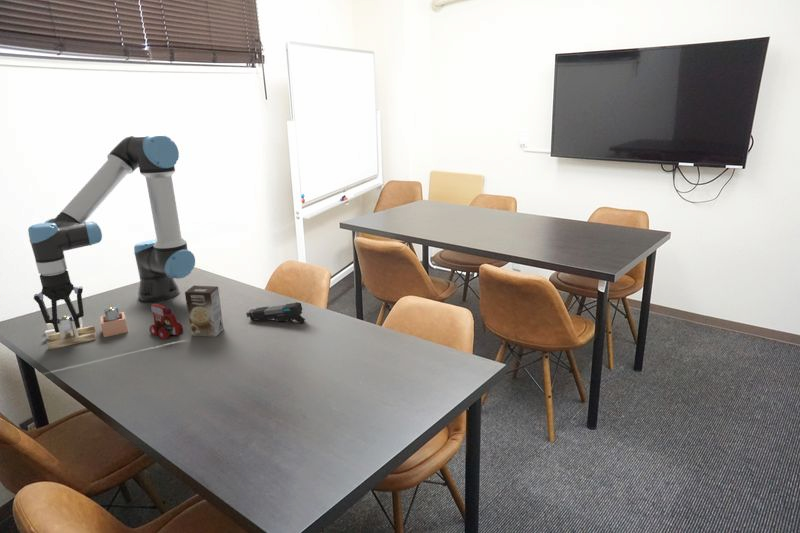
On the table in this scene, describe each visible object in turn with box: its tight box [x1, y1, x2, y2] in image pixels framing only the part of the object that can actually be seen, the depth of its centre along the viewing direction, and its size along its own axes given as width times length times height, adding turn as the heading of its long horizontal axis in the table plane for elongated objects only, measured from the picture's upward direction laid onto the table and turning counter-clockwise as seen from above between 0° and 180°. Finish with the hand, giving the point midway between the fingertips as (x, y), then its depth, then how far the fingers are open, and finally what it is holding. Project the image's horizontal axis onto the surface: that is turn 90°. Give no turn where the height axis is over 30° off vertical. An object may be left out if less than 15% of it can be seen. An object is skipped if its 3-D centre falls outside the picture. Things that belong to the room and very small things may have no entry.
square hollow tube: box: [99, 311, 129, 338], centre depth 167 cm, size 7×7×6 cm
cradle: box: [44, 317, 83, 340], centre depth 168 cm, size 10×9×3 cm
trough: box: [46, 325, 97, 350], centre depth 162 cm, size 13×8×3 cm, turn 121°
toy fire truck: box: [149, 303, 184, 340], centre depth 164 cm, size 7×12×10 cm, turn 57°
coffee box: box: [184, 285, 224, 338], centre depth 164 cm, size 9×6×16 cm
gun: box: [245, 301, 306, 325], centre depth 174 cm, size 4×20×10 cm, turn 80°
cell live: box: [57, 315, 75, 339], centre depth 160 cm, size 4×4×9 cm
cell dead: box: [103, 306, 120, 322], centre depth 166 cm, size 4×4×9 cm
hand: (70, 338), depth 161 cm, fingers closed on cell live, 3 cm apart
